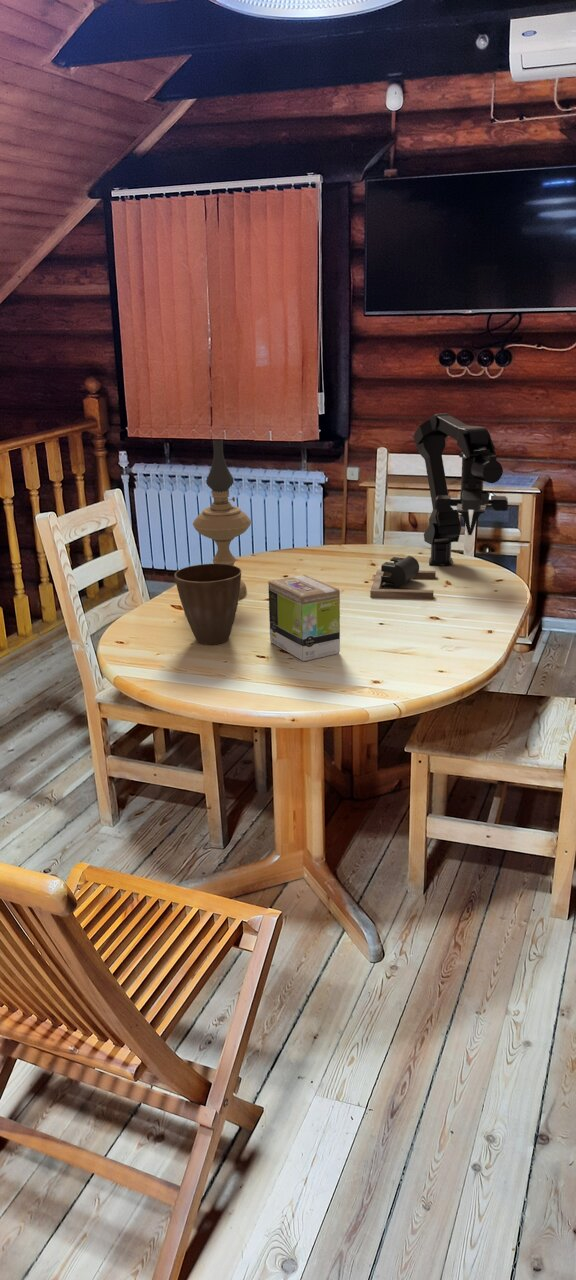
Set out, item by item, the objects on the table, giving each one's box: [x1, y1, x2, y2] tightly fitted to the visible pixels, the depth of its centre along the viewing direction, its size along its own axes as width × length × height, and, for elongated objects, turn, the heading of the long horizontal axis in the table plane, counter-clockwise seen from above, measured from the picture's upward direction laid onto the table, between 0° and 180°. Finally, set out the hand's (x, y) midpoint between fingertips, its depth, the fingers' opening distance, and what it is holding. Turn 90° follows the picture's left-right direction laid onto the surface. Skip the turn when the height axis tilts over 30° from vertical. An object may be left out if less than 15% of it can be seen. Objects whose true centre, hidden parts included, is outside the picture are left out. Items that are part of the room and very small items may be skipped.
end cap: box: [380, 555, 420, 589], centre depth 251 cm, size 10×7×7 cm
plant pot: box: [174, 563, 242, 646], centre depth 213 cm, size 15×15×16 cm
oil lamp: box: [192, 439, 252, 599], centre depth 241 cm, size 15×15×40 cm
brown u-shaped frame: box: [369, 568, 437, 600], centre depth 250 cm, size 20×16×2 cm
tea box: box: [267, 574, 341, 662], centre depth 206 cm, size 15×10×15 cm
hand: (469, 534), depth 252 cm, fingers closed
